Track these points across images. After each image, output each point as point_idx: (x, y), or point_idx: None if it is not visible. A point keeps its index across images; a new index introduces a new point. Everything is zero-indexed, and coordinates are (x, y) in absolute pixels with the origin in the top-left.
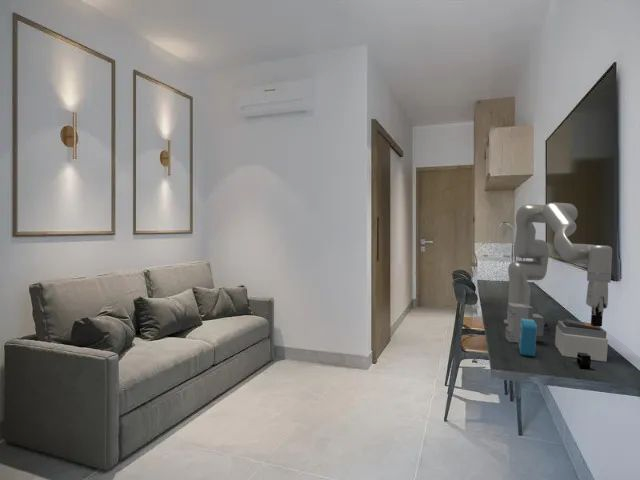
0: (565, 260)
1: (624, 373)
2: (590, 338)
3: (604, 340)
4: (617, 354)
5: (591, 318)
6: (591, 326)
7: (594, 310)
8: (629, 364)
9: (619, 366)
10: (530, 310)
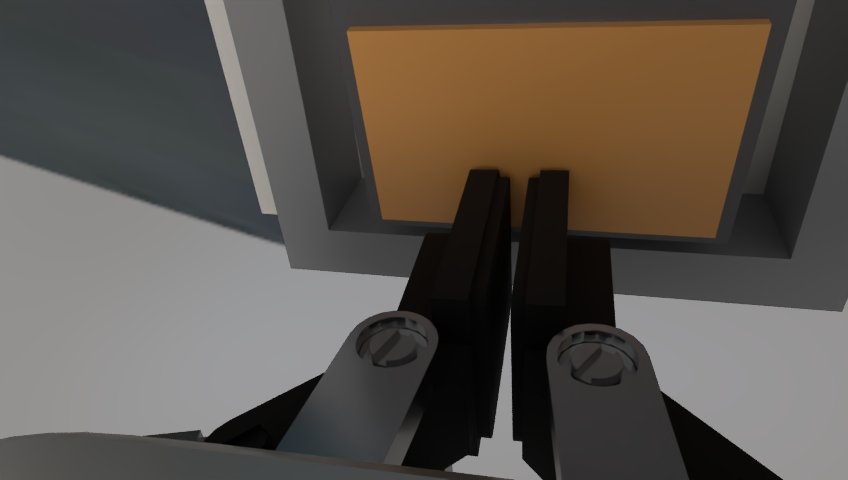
0: None
1: (108, 144)
2: (214, 14)
3: (259, 174)
4: None
5: (532, 238)
6: (363, 126)
7: (306, 421)
8: None
9: None
10: None
